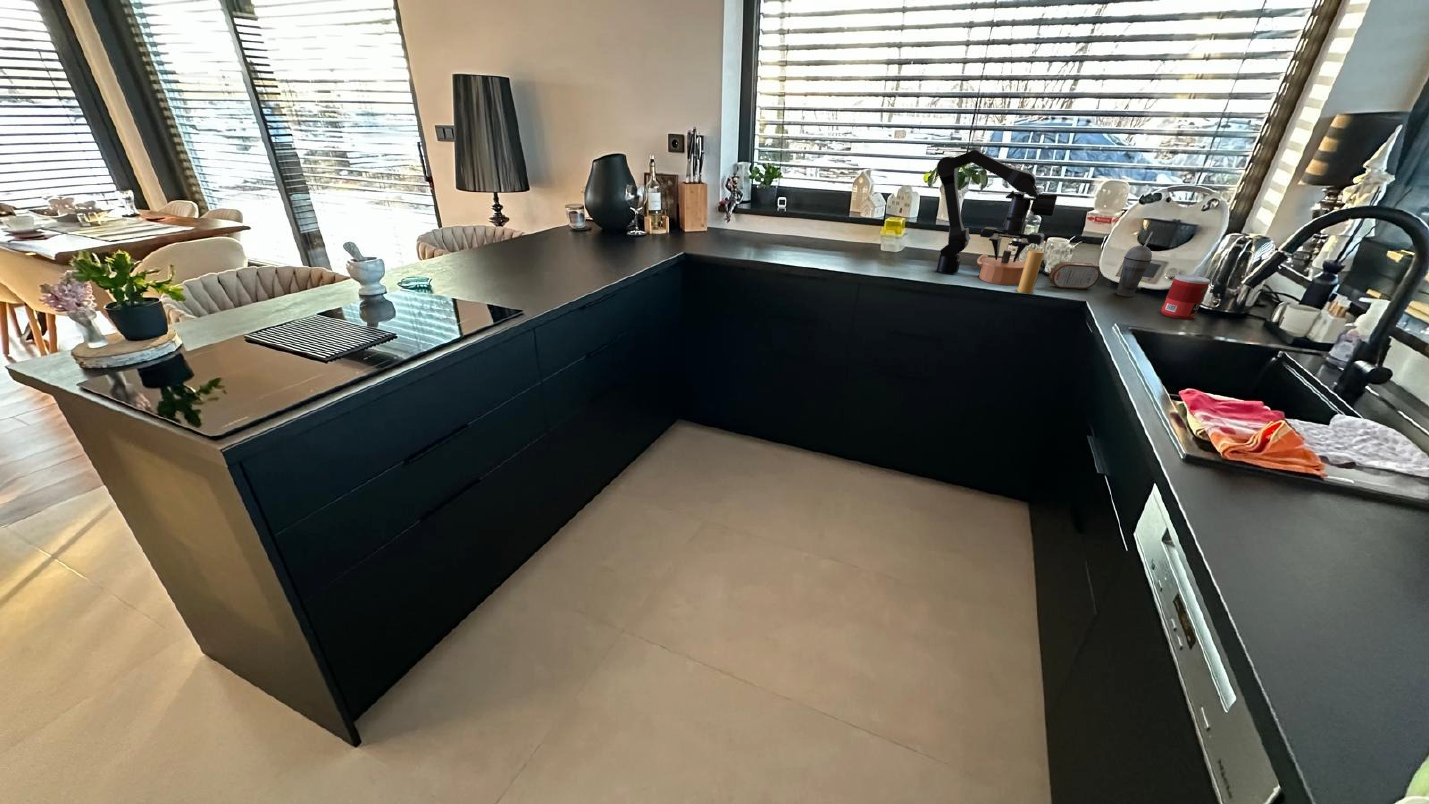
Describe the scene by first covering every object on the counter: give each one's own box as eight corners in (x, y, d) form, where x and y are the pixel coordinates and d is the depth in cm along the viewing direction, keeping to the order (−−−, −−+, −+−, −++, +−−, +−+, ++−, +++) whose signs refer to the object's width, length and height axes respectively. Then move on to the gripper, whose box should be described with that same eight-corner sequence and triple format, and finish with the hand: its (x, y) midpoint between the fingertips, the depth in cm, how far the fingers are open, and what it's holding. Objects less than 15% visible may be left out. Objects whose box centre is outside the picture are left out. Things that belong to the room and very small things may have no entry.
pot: (974, 280, 193) (978, 264, 190) (984, 272, 202) (988, 257, 200) (1017, 287, 185) (1021, 270, 183) (1025, 279, 195) (1030, 263, 192)
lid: (976, 265, 190) (979, 250, 188) (987, 258, 201) (990, 244, 198) (1022, 273, 182) (1026, 257, 180) (1031, 265, 193) (1035, 250, 191)
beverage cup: (1114, 290, 185) (1136, 228, 176) (1140, 294, 180) (1164, 231, 171) (1108, 294, 180) (1131, 230, 171) (1135, 299, 176) (1159, 234, 167)
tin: (1091, 287, 187) (1100, 262, 183) (1096, 290, 184) (1105, 264, 180) (1045, 285, 188) (1052, 260, 184) (1049, 288, 185) (1057, 262, 181)
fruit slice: (1000, 272, 204) (1003, 258, 202) (982, 271, 203) (986, 258, 201) (988, 266, 211) (992, 253, 209) (971, 266, 211) (974, 253, 208)
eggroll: (1016, 291, 180) (1027, 251, 174) (1019, 289, 183) (1030, 249, 177) (1030, 294, 178) (1042, 253, 172) (1033, 291, 181) (1045, 251, 175)
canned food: (1195, 321, 157) (1212, 283, 152) (1161, 316, 160) (1176, 278, 155) (1192, 314, 162) (1208, 277, 157) (1159, 309, 166) (1173, 273, 161)
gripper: (1053, 214, 184) (1039, 261, 192) (993, 208, 194) (982, 253, 202) (1047, 218, 177) (1033, 267, 184) (985, 211, 186) (974, 258, 194)
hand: (1005, 261), depth 191 cm, fingers open, 5 cm apart
